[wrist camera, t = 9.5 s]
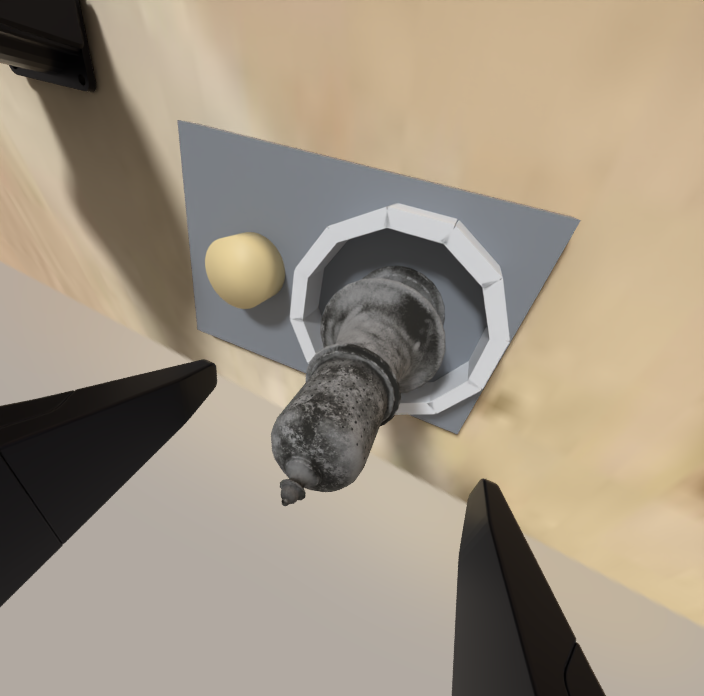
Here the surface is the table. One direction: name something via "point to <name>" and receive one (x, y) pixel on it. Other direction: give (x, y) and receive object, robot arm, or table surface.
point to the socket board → (356, 255)
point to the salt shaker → (358, 377)
